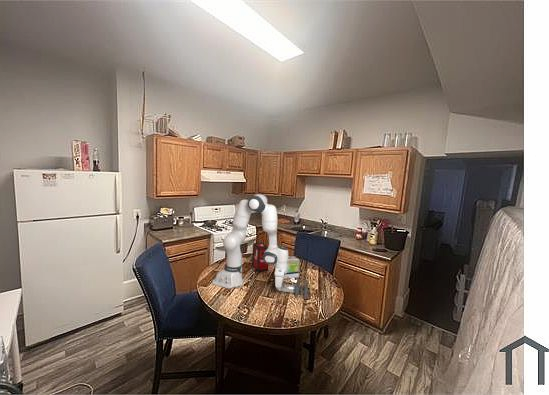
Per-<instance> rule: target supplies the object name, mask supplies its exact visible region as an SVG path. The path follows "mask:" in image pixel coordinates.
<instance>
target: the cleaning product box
mask: <svg viewBox="0 0 549 395" xmlns="http://www.w3.org/2000/svg"><path fill="white" fill-rule="evenodd" d="M267 249H268V245H266V244H265V243H263V242H262V241H261V242H252V258H251V265H252V266H253V268H255V270H256V271H257V272H258V273H262V272H269V267H270V266H269V265H270V264H266V263H265V262H264V261H263V259H262V255H263V253H264V252H265V251H266V250H267Z"/></svg>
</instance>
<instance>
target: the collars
mask: <svg viewBox="0 0 549 395" xmlns="http://www.w3.org/2000/svg"><path fill="white" fill-rule="evenodd" d="M304 283H305V285H304V293H303V298H304V299H308V292H309V293H312V286H313V279H310V282H309V281H308V280H305V282H304ZM309 283H310V284H309ZM300 284H301V280H300V279H296V284H295V286H296V293H294V297H295V298H299V295H300V294H299V286H301V285H300Z"/></svg>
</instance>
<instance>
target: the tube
mask: <svg viewBox="0 0 549 395" xmlns="http://www.w3.org/2000/svg"><path fill="white" fill-rule="evenodd" d="M275 291H277V292H278V291H279V292H284V293H290V294H291V293H293V294H295V293H296V284H295V285H293V284H288V283H287V284H286V283H282V286H281V290H278V288H277V287H276V286H275ZM302 293H303V286H301V285H300V286H299V294H298V295H302Z"/></svg>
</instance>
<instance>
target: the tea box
mask: <svg viewBox="0 0 549 395" xmlns="http://www.w3.org/2000/svg"><path fill="white" fill-rule="evenodd" d="M300 263H301V260H300V259H299V258H297V256H294V255H293V256H288V262H287V264H288V270H287V273H286V274H285V277H284V280H287V279H294V278H299V275H300V266H301V264H300Z"/></svg>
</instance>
